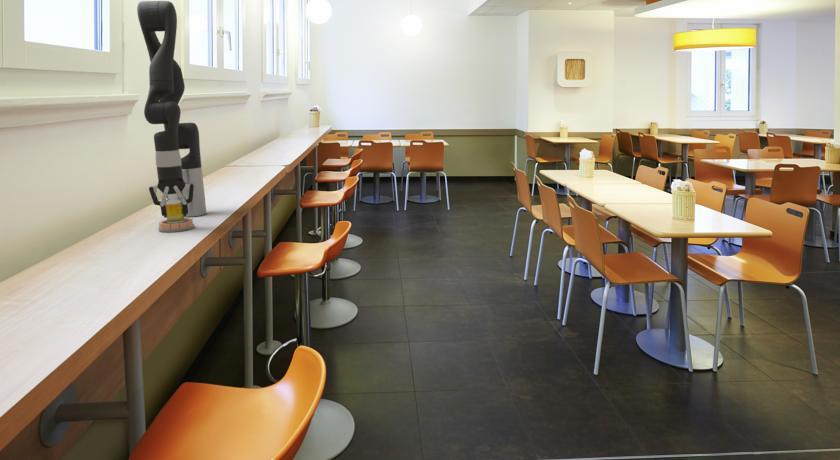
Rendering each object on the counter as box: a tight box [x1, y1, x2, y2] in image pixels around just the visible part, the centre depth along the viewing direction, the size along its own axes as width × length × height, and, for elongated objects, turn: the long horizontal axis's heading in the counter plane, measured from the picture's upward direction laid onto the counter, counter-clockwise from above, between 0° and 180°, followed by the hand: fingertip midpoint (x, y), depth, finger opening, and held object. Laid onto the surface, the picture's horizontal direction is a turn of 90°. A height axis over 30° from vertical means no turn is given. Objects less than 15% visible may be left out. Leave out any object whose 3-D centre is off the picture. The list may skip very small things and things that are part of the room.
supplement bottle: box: [165, 194, 185, 224], centre depth 203 cm, size 5×5×10 cm
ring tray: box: [158, 217, 195, 234], centre depth 205 cm, size 11×11×3 cm
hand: (175, 216), depth 204 cm, fingers closed on supplement bottle, 5 cm apart
